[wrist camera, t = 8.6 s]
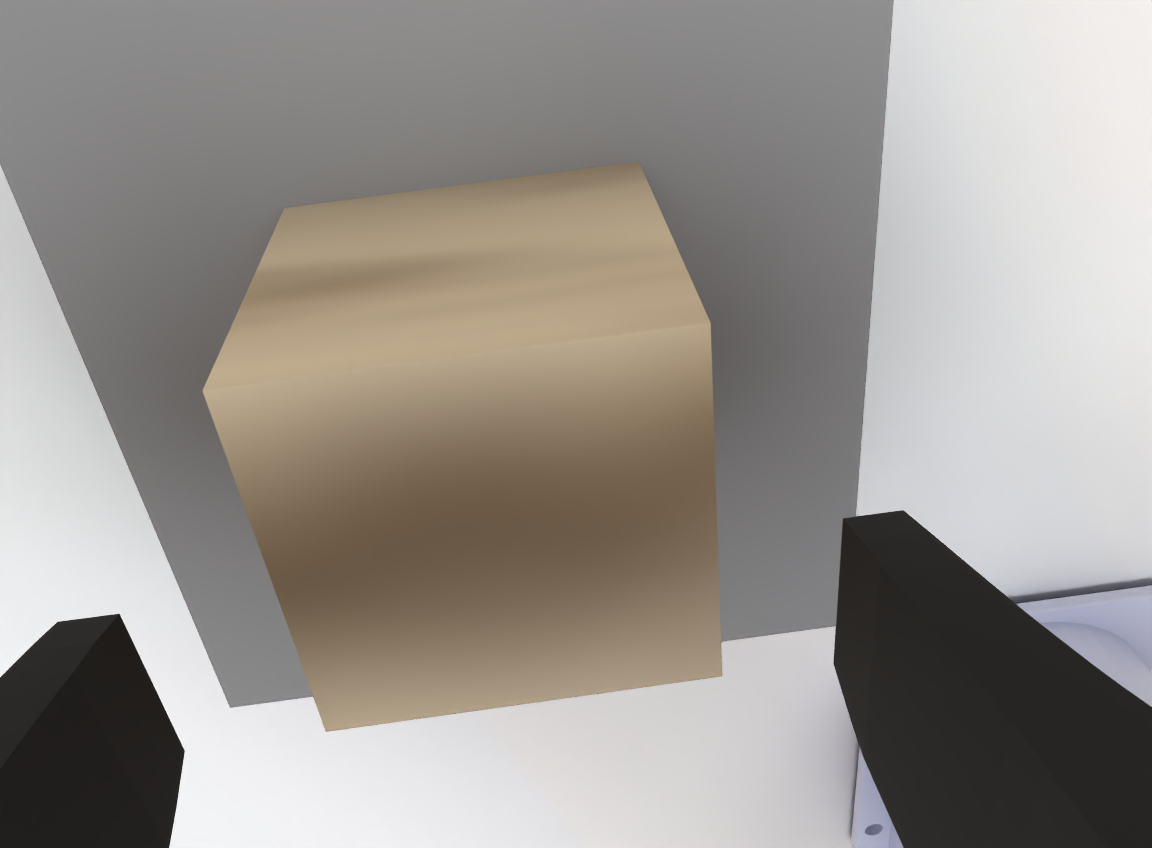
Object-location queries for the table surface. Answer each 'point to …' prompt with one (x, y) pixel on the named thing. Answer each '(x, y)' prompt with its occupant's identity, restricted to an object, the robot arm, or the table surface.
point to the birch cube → (479, 445)
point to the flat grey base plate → (442, 159)
